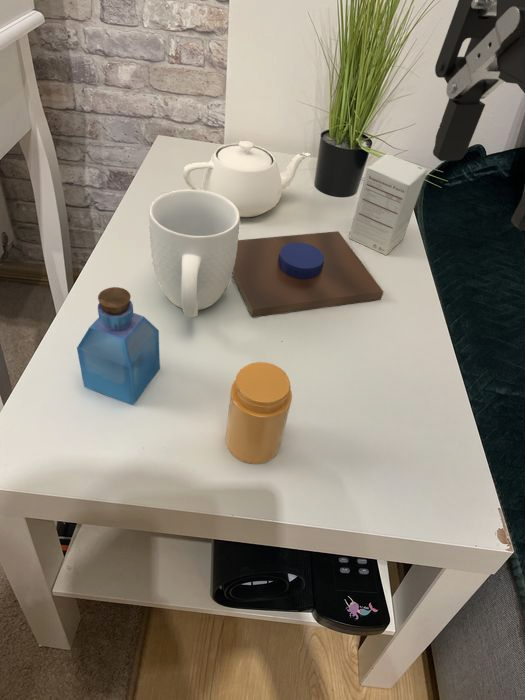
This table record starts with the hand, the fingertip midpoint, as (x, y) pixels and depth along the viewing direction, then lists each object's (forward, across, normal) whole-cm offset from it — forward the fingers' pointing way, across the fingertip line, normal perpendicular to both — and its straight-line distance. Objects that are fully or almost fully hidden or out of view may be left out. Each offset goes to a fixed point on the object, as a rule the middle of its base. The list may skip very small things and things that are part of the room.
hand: (483, 189), depth 33 cm
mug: (+32, -30, -11) cm, 45 cm away
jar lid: (+29, -33, +6) cm, 44 cm away
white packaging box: (+32, -40, +23) cm, 56 cm away
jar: (+32, -6, -10) cm, 34 cm away
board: (+32, -33, +6) cm, 46 cm away
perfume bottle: (+32, -18, -22) cm, 43 cm away
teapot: (+32, -54, +4) cm, 63 cm away
